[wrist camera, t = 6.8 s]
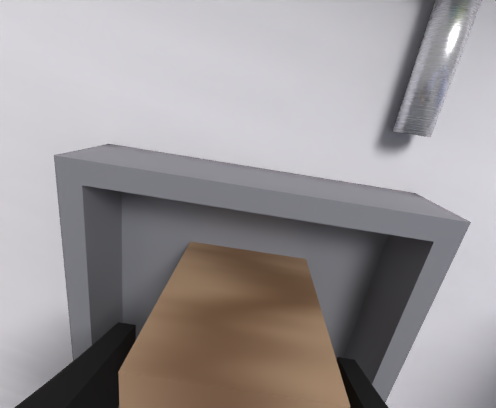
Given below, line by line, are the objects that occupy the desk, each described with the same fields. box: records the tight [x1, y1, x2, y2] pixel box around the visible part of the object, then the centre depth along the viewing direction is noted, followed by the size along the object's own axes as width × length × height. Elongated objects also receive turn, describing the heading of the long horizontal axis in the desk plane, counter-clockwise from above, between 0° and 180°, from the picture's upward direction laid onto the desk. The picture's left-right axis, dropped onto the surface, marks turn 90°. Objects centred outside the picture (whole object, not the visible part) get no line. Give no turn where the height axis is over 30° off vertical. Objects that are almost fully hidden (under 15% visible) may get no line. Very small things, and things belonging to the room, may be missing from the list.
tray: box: [54, 144, 471, 408], centre depth 11 cm, size 13×13×3 cm
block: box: [118, 241, 350, 408], centre depth 9 cm, size 5×5×6 cm
